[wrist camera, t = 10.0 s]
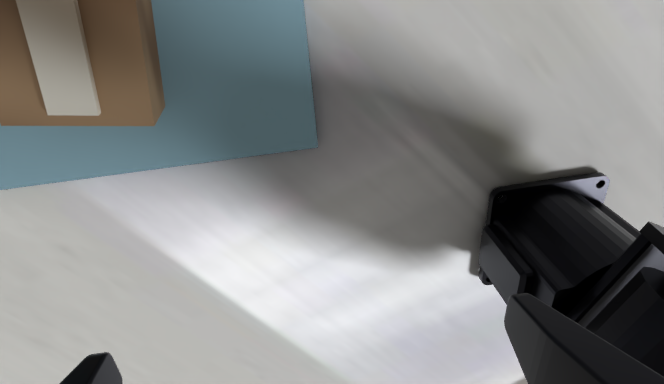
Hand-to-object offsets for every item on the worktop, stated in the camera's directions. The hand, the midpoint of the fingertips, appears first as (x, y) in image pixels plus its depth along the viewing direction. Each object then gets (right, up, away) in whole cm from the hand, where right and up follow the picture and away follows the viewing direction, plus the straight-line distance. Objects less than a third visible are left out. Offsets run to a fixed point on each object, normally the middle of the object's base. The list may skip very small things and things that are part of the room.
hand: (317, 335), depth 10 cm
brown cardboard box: (-9, +10, +5) cm, 14 cm away
